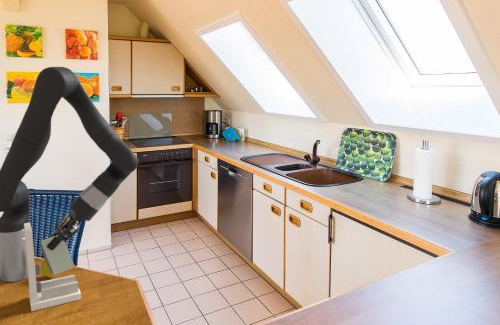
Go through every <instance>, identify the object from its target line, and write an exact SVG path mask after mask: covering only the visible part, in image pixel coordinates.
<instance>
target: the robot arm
mask: <svg viewBox="0 0 500 325" xmlns="http://www.w3.org/2000/svg"><path fill="white" fill-rule="evenodd" d="M31 93H32V94H31V95H30V96H31V97H30V100H29V103H28V106H27V109H26V110H25V112H24V115H23V117H22V119H21V122H20V124H19V126H18V128H17V130H16V132H15V135H14V137H13V140H12V142H11V145H10V147H9V149H8V152H7V154H6V156H5V159H4V161H3V163H2V165H1V168H0V213H2V214H1V216H0V281H2V282H5V283H12V282H13V283H15V282H19V281H23V280H25V279H29V278H28V266H27V254H26V242H25V229H24V223H29V220H30V216H31V210H30V207H31V206H30V204H31V203H30V202H31V200H30V198H31V197H30V191H29V189H28V187H27V185H26V183H24V181H22V180H23V178H24V177H25V175H26V174H27V173H28V172H29V171H30V170H31V169H32V168H33V167H34V166H35V165H36V164H37V163H38V162H39V160H40V159H41V158H42V156H43V154H44V153H45V151H46V148H47V147H48V144H49V142H50V138H51V136H52V135H51V134H52V117H53V115H54V111H56V108H57V106H58V104H59V102H60V101H61V99H62V98H63V99H64V100H65V101H66V102H67V103H68V104H69V105H70V106H71V107H72V108H73V109H74V111H75V112H76V114H77V116H78V117H79V120H80V122H81V124H82V126H83V128H84V130H85V132H86V134H87V135H88V136H89V138H90V139H91V140H92V141H93V142H94V143H95V145H96V146H97V147H98V148H99V149H100V150H101V151H102V153H104V154H105V155H106V156H107V157H108V158H109V161H111V162H110V164H109V165H108V167H106V169H105V170H104V171H102V172H101V173H100V174H99V175H98V176H96V177H95V179H94V180H93V181H92V182H91V183H90V184H89V185H88V186H87V187H85V188H84V190H83V191H81V193H80V194H79V195H78V196H76V198H75V200H73V202H71V204H70V205H69V208H70V210H72V211H71V212H70V213H69V214H67V213H65V214H64V215H63V217H61V219H60V220H59V222H58V224H57V225H56V226H55V227H54V230H53V233H52V235H51V236H50V237H53V236H55V237H54V238H53V239H52V241H51V242H50V243H49V244H48V245H47V248H48V249H50V250H54V249H55V248H56V247H57V246H58V244H59V243H60V242H61V241H64V242H66V241H68V240H69V239H70V238H72V237H73V236H74V235H76V234H77V233H78V232H79V231H80V229H79V226H81V223H82V222H83V220H85V221H87V222H89V221H91V220H92V219H93V217H95V215H96V214H98V212H99V211H100V210H101V209H102V208H103V207H104V206H105V204H106V203H107V201H108V200H109V199H110V198H111V197H112V195H113V194H115V192H116V191H117V190H118V189H119V187H120V185H122V183H123V182H124V181H125V180H126V179H127V178H128V177H129V176H130V175H131V174H132V172H134V171H135V170H136V169H137V168H138V165H139V159H138V157H137V154H135V153H134V151H133V150H132V149H131V148H130V147H129V146H128V145H127V144H126V143H125V141H123V140H122V139H121V138H120V136H119V134H118V133H117V132H116V131H115V129H113V127H112V126H111V124H109V122H108V121H107V120H106V118H105V117H104V116H103V115H102V113H101V112H100V111H99V109H98V108H97V107H96V105H95V104H94V103H93V100H91V98H90V96H89V94H88V93H87V92H86V90H85V88H84V87H83V84H82V83H81V81H80V80H79V78H78V77H77V75H76V74H75V72H74V71H72V70H71V69H70V68H68V67H65V66H47V67H45V68H43V69H42V70H41V71H40V72H39V73H38V75H37V77H36V79H35V82H34V87H33V90H32V92H31Z"/></svg>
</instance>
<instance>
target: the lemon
mask: <svg viewBox="0 0 500 325" xmlns="http://www.w3.org/2000/svg"><path fill="white" fill-rule="evenodd" d="M40 272H41V274H42V275H43V276H45V277H47V278H50V279H53V277H55V276H54V273H50V271H49V268H48V266H47V263H46V261H45V258H43V259H42V261H41V263H40Z"/></svg>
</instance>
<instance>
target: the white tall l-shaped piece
mask: <svg viewBox="0 0 500 325" xmlns="http://www.w3.org/2000/svg"><path fill="white" fill-rule="evenodd" d="M24 229H25V242H26V254H27V266H28V278H27V279H28V288H29V291H28V298H29V305H30V311H31V312H35V311H38V310H43V309H46V308H51V307H55V306H58V305H59V306H60V305H63V304H67V303H72V302H76V301H80V300H82V292H81V290H80V288H79V282H78V280H76V274H71V275H67V276H62V277H58V278H57V277H56V278H50V279H48V280H38V281H37V276H39V275H41V266H40V264H39V263H37V264H36V263H35V261H36V260H35V251H34V250H35V249H34V238H33V237H34V235H33V228H32V225H31V222H28V223H24Z"/></svg>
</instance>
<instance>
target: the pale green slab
mask: <svg viewBox="0 0 500 325" xmlns="http://www.w3.org/2000/svg"><path fill="white" fill-rule="evenodd" d="M54 237H55V236H53V237H51V236H49V237H48V238H45V239H42V240H40V243H41V244H40V245H39V248H40V251H41V254H42V256H43V259H45V261H46V263H47V266H48V268H49V271H50V273H54V276H53V277H55V276H57V275H59V274H61V273H64V272H65V271H68V270H71V269H73V268H75V267H76V266H75V264H74V261H73V258H72V256H71V253H70V250H69V247H68V244H67V243H66V241H65V242H64V241H61V242H60V243H59V244H58V246H57V247H56V248H55V249H54V250H50V249H48V248H47V245H48V244H49V243H50V242H51V241H52V239H53V238H54Z"/></svg>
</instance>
